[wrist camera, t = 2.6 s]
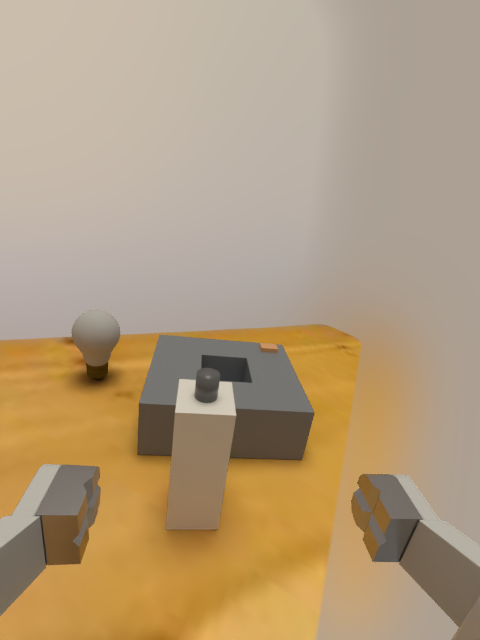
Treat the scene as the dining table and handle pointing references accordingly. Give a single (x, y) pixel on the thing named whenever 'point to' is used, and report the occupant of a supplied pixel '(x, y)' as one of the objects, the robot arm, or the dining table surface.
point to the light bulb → (96, 340)
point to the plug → (200, 451)
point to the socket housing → (248, 389)
